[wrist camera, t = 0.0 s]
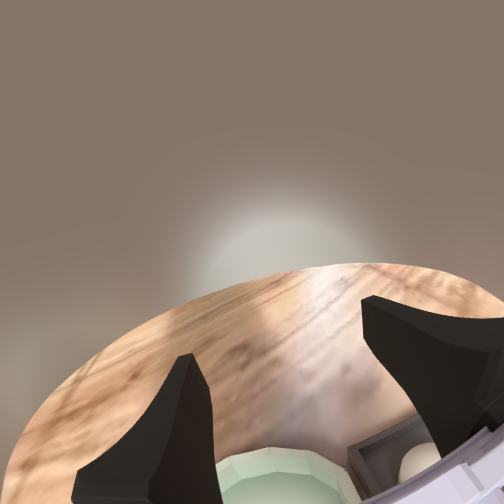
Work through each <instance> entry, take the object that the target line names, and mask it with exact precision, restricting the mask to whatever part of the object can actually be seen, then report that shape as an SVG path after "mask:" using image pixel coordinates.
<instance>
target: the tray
mask: <svg viewBox="0 0 504 504" xmlns="http://www.w3.org/2000/svg"><path fill="white" fill-rule="evenodd" d="M424 443H434V441H433V439H432V437H431V435H430V433H429V431H428V429H427V427H426V425H425V423H424V422H423V420H422V418H421V416H420V415H419V413H417V414H415V415H413V416H411V417H410V418H408V419H406V420H404V421H402V422H400V423H399V424H397V425H395V426H393V427H391V428H389V429H387V430H385V431H383V432H381V433H379V434H377V435H374V436H372V437H370V438H368V439H366V440H364V441H361V442H359V443H357V444H354V445H352V446H350V447H347V450H348V460H349V462H350V464H351V466H352V468H353V469H354V471H355V473H356V475H357V477H358V479H359V481H360V483H361V485H362V487H363V489H364V490H365V492H366V494H367V496H368V498H372V497H374V496H376V495H378V494H380V493H382V492H384V491H386V490H389V489H391V488H393V487H394V486H396V485H397V480H398V476H399V472H400V467H401V463H402V460H403V458H404V456H405V455H406V454H407V453H408V452H409V451H410V450H411V449H412V448H414V447H416V446H418V445H420V444H424ZM501 490H502V491H503V492H504V485H503V486H502V487H501Z"/></svg>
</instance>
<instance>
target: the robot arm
mask: <svg viewBox="0 0 504 504" xmlns="http://www.w3.org/2000/svg"><path fill="white" fill-rule="evenodd" d="M361 307H362V321H363V338H364V340H365V341H366V343H367V345H368V346H369V348H370V349H371V351H372V352H373V354H374V355H375V357H376V358H377V359H378V360H379V361H380V363H381V364H382V365H383V366H384V367H385V368H386V370H387V371H388V372H389V373H390V374H391V375H392V377H393V378H394V379H395V380H396V381H397V382H398V384H399V385H400V386H401V387H402V388H403V390H404V391H405V392H406V394H407V395H408V397H409V398H410V400H411V402H412V403H413V405H414V406H415V408H416V410H417V411H418V413H419V415H420V416H421V418H422V420H423V422H424V423H425V425H426V427H427V429H428V431H429V433H430V435H431V437H432V439H433V441H434V443H435V445H436V448H437V450H438V452H439V454H440V457H441V460H439V461H438V462H436V463H435V464H433V465H431V466H430V467H428V468H427V469H425V470H423V471H422V472H420V473H418V474H416V475H415V476H413V477H411V478H409V479H408V480H406V481H404V482H402V483H400V484H398V485H396V486H394V487H393V488H391V489H389V490H386V491H384V492H382V493H380V494H378V495H376V496H374V497H372V498H369V499H367V500H365V501H362V502H360V503H358V504H504V492H503V491H502V490H501V487H502V486H503V485H504V317H503V318H486V319H478V318H461V317H453V316H447V315H441V314H436V313H432V312H428V311H424V310H420V309H416V308H413V307H410V306H407V305H403V304H400V303H397V302H394V301H391V300H388V299H385V298H382V297H379V296H375V295H372V296H370V297H367V298H365V299H362V300H361ZM71 501H72V503H73V504H223V500H222V495H221V491H220V486H219V481H218V476H217V471H216V465H215V458H214V442H213V412H212V403H211V397H210V391H209V387H208V385H207V383H206V381H205V379H204V377H203V375H202V372H201V370H200V368H199V366H198V364H197V362H196V360H195V358H194V356H193V353H191V354H186V355H182V356H178V358H177V360H176V361H175V363H174V365H173V367H172V369H171V370H170V372H169V374H168V376H167V378H166V380H165V381H164V383H163V385H162V386H161V388H160V390H159V392H158V393H157V395H156V396H155V398H154V399H153V401H152V402H151V404H150V405H149V407H148V408H147V410H146V411H145V412H144V414H143V415H142V416H141V417H140V419H139V420H138V421H137V422H136V423H135V425H134V426H133V427H132V428H131V429H130V430H129V431H128V432H127V433H126V434H125V435H124V436H123V437H122V438H121V439H120V440H119V441H118V442H117V443H116V444H114V445H113V446H112V447H111V448H110V449H109V450H107V451H106V452H105V453H103V454H102V455H101V456H99V457H98V458H97V459H95V460H94V461H92V462H91V463H89V464H87V465H86V466H84V467H83V468H81V469H79V470H78V471H77V475H76V479H75V483H74V487H73V491H72V496H71Z"/></svg>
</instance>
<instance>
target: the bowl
mask: <svg viewBox="0 0 504 504" xmlns="http://www.w3.org/2000/svg"><path fill="white" fill-rule="evenodd" d="M229 458H230V459H229ZM229 458H228V457H227V458H225V459H224V460H222V461H221V462H219V463H218V464H216V471H217V476H218V481H219V486H220V491H221V495H222V500H223V504H358V503H360V502H362V501H361V499H360V497H359V495H358V493H357V491H356V489H355V487H354V485H353V483H352V481H351V479H350V477H349V475H348V473H347V471H345V469H344V468H342V467H340V466H338V465H336V464H334V463H333V462H331V461H329V460H327V459H325V458H324V457H322V456H320V455H318V454H317V453H315V452H313V451H312V452H311V450H297V449H286V448H276V447H270V449H269V447H267V448H263V449H259V450H255V451H251V452H247V453H243V454H238V455H234V456H229Z"/></svg>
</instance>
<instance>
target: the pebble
mask: <svg viewBox="0 0 504 504" xmlns="http://www.w3.org/2000/svg"><path fill="white" fill-rule="evenodd" d="M439 460H441V457H440V454H439V452H438V450H437V448H436V445H435V443H424V444H420V445H418V446H416V447H414V448H412V449H411V450H410V451H409V452H408V453H407V454H406V455H405V456H404V458H403V460H402V463H401V467H400V472H399V476H398V480H397V485H398V484H400V483H402V482H404V481H406V480H408V479H409V478H411V477H413V476H415V475H416V474H418V473H420V472H422V471H423V470H425V469H427V468H428V467H430V466H431V465H433V464H435V463H436V462H438V461H439Z"/></svg>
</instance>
